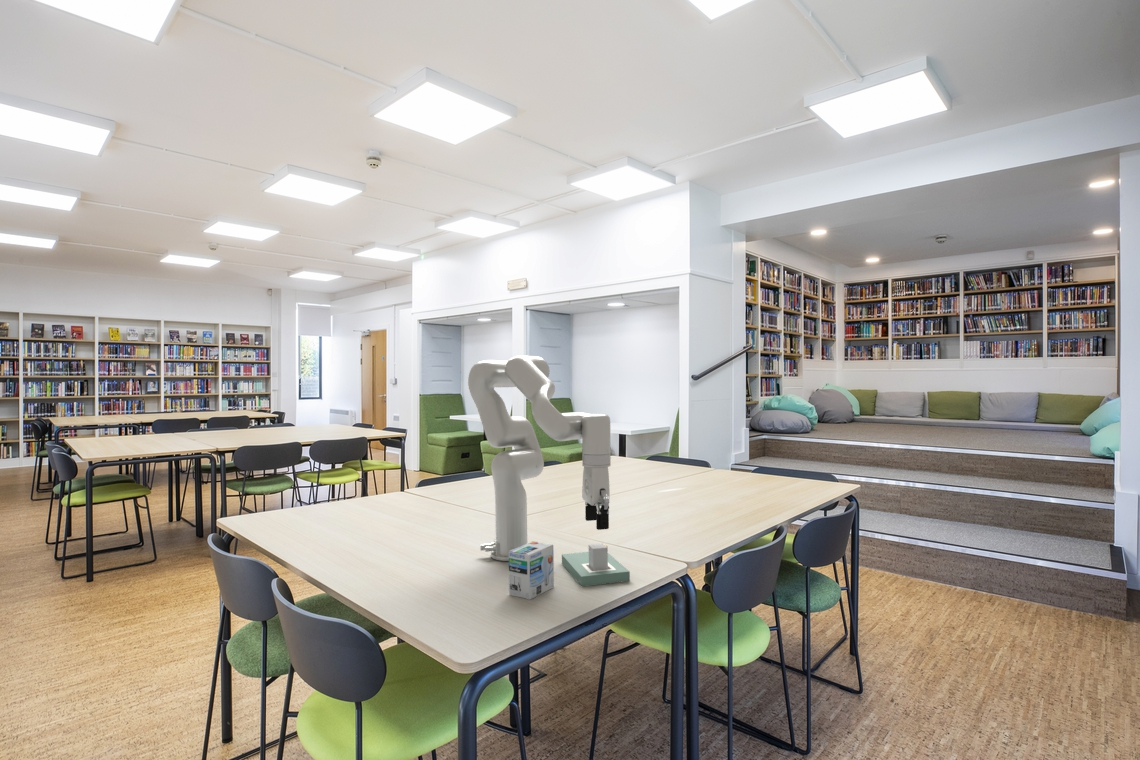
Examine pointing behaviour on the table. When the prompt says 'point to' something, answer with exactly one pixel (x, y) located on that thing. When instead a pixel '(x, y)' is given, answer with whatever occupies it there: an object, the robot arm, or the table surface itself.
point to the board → (586, 577)
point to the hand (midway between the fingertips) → (596, 524)
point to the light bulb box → (531, 570)
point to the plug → (598, 557)
